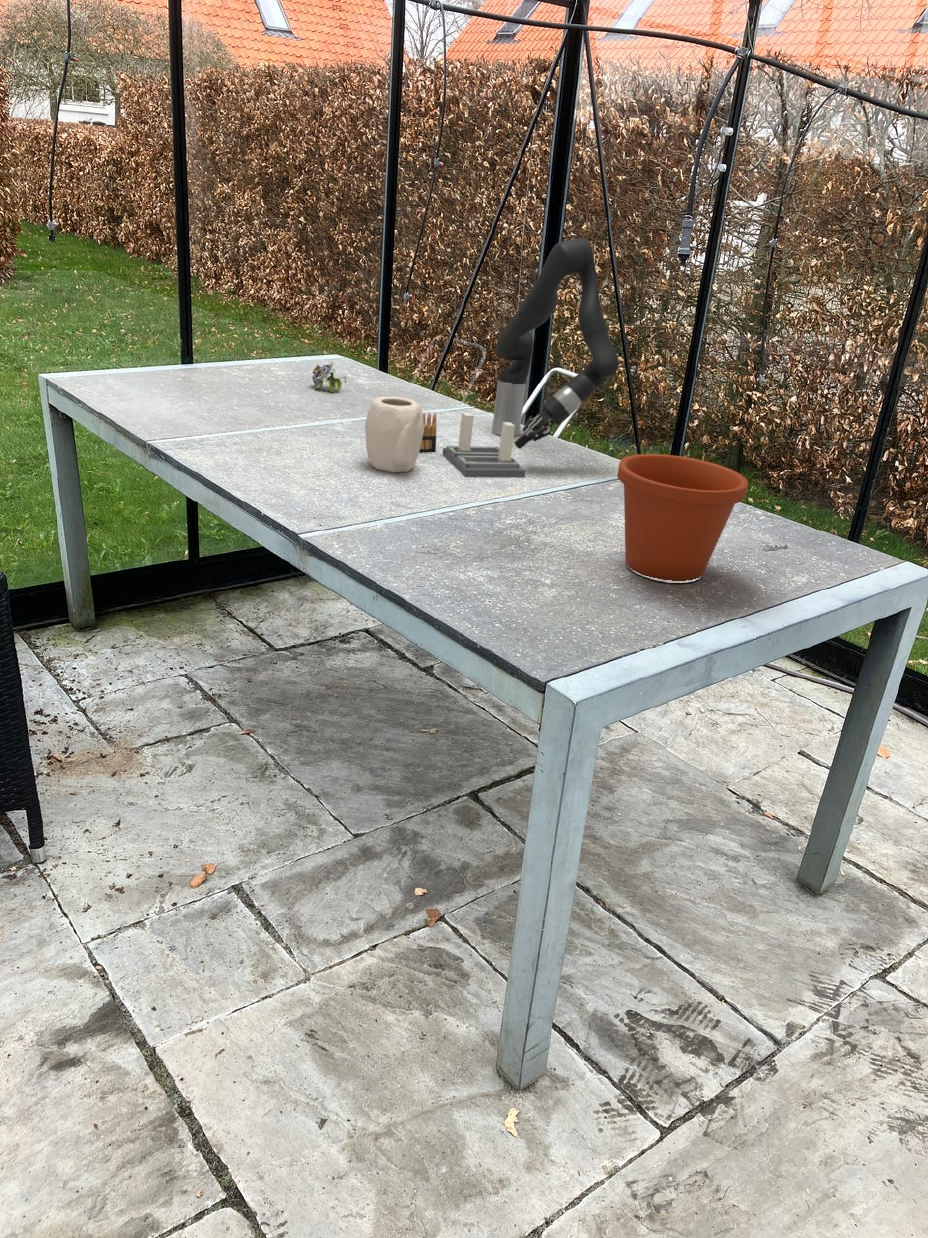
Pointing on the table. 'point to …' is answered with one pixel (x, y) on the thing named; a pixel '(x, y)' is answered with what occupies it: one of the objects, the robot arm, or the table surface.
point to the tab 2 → (506, 443)
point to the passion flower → (326, 377)
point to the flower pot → (675, 512)
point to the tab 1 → (465, 432)
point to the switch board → (482, 462)
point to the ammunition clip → (429, 435)
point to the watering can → (394, 433)
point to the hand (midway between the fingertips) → (516, 446)
